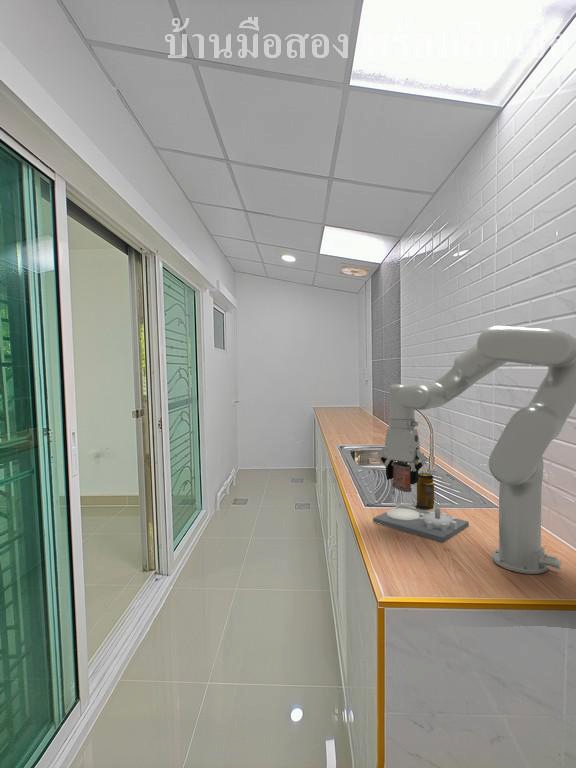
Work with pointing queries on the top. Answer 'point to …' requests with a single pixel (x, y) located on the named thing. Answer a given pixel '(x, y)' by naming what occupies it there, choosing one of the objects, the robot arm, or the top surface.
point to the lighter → (401, 476)
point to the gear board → (419, 528)
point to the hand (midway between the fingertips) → (401, 480)
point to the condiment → (425, 492)
